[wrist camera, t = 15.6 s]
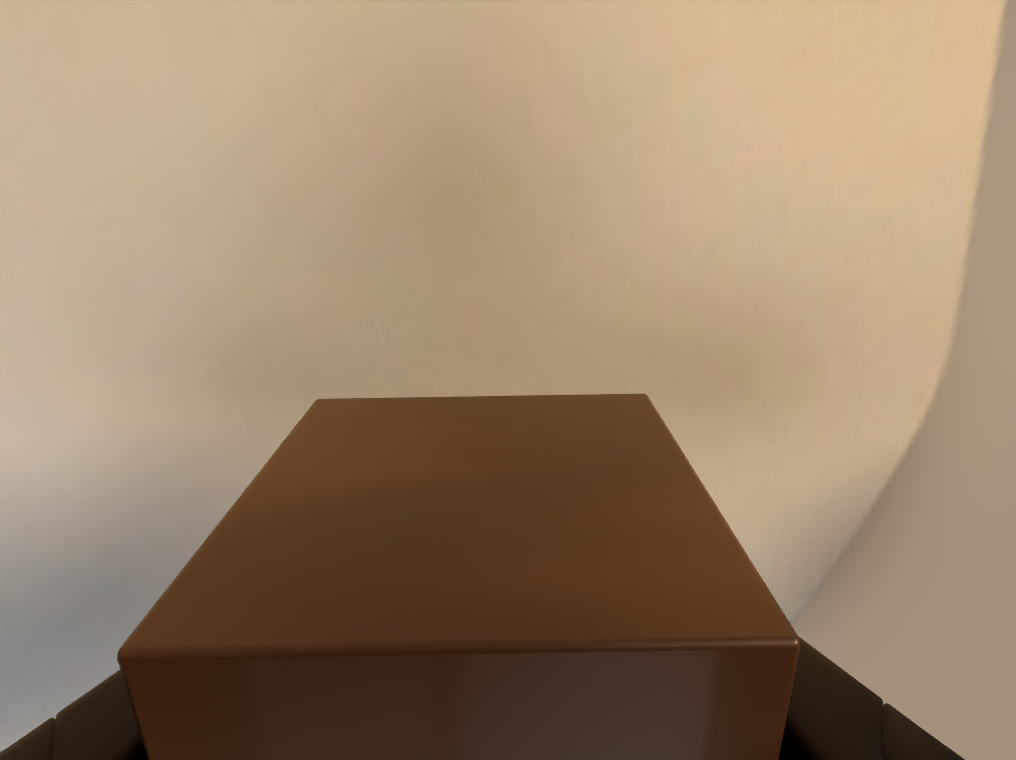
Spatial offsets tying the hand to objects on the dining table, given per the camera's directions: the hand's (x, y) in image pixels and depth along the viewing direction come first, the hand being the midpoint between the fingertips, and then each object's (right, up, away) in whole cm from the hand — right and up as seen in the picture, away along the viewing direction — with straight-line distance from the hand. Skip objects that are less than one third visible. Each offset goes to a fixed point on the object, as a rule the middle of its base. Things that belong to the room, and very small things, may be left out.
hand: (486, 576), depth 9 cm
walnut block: (0, 0, +1) cm, 1 cm away
